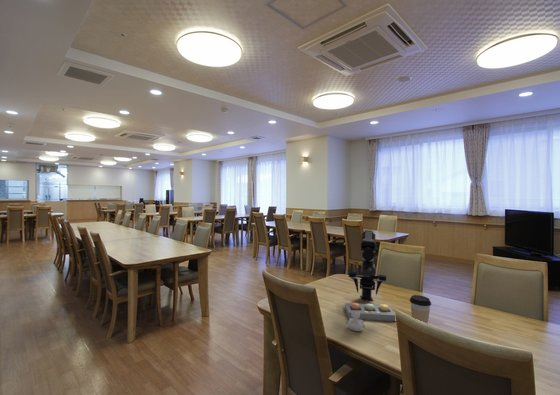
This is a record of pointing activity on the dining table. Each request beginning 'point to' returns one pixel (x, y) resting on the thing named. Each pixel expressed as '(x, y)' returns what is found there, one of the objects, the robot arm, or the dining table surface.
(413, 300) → the coffee cup
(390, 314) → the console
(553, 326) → the dining table surface
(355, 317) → the stamp
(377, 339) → the dining table surface
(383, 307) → the button mustard
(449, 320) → the dining table surface
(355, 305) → the button terracotta
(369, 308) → the button sage
